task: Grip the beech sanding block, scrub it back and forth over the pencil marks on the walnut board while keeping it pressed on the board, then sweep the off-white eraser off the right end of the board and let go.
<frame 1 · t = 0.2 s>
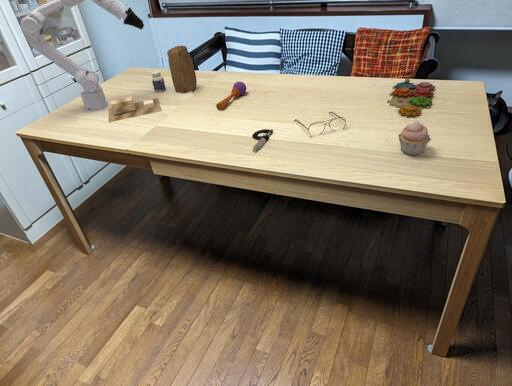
hand: (142, 25, 153), 31 cm above the table, tool tilted 45°, fingers open, 7 cm apart
glasses: (319, 125, 135), on the table
micrometer: (257, 142, 130), on the table
pill bottle: (161, 92, 177), on the table
block: (187, 91, 175), on the table
cupcake: (411, 151, 115), on the table
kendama: (232, 101, 160), on the table
eraser: (149, 106, 161), point 1 cm above the table, touching board
board: (135, 111, 161), on the table
sanding block: (125, 111, 160), point 1 cm above the table, touching board
gear puzzle: (409, 102, 144), on the table
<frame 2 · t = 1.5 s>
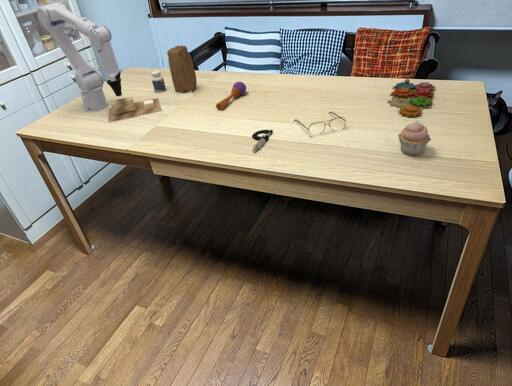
hand: (119, 92, 155), 9 cm above the table, tool pointing down, fingers open, 7 cm apart
nothing on the table moved.
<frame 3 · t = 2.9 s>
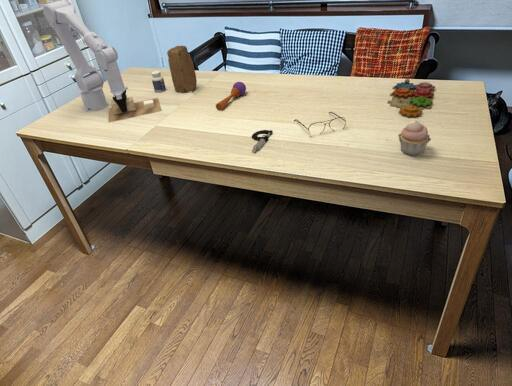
hand: (124, 109, 159), 2 cm above the table, tool pointing down, fingers closed on sanding block, 4 cm apart
sanding block: (125, 111, 160), point 1 cm above the table, touching board, gripper
everything else where it was.
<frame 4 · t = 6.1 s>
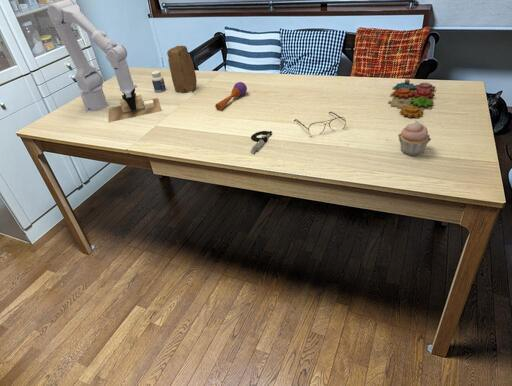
hand: (133, 107, 160), 2 cm above the table, tool pointing down, fingers closed on sanding block, 4 cm apart
sanding block: (134, 109, 160), point 1 cm above the table, touching gripper
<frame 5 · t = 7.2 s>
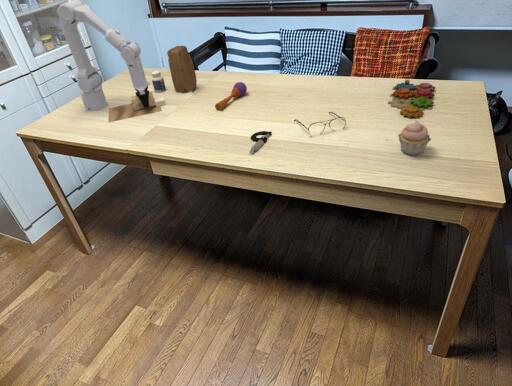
hand: (146, 104, 161), 2 cm above the table, tool pointing down, fingers closed on sanding block, 4 cm apart
eraser: (160, 103, 162), point 1 cm above the table, touching board
sanding block: (145, 106, 161), point 1 cm above the table, touching gripper
when the fingers open (2 cm above the table, at t = 9.3 s): sanding block stays where it is, resting on board.
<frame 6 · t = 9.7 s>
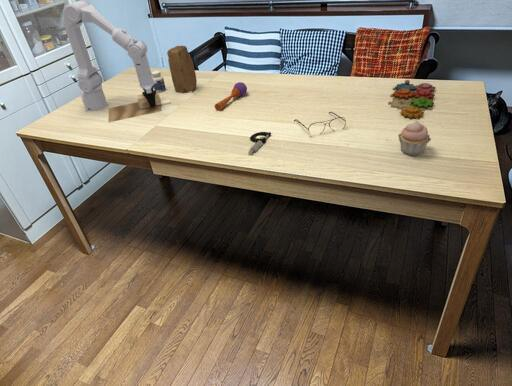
hand: (152, 103, 161), 2 cm above the table, tool pointing down, fingers open, 7 cm apart
eraser: (166, 105, 164), on the table
sanding block: (151, 105, 162), point 1 cm above the table, touching board
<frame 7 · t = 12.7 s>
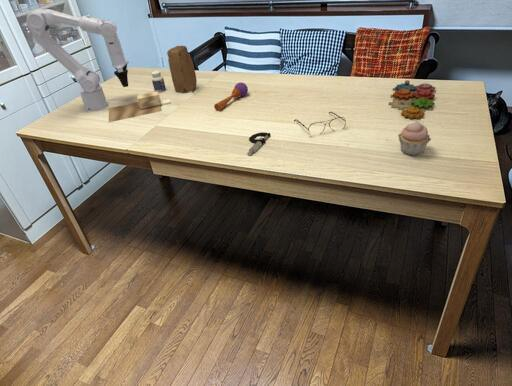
hand: (125, 83, 163), 9 cm above the table, tool pointing down, fingers open, 7 cm apart
at the end: eraser inside the target area (4.8 cm from its centre), on the table; sanding block moved 11.1 cm from its start; sanding block tilted 0° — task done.
